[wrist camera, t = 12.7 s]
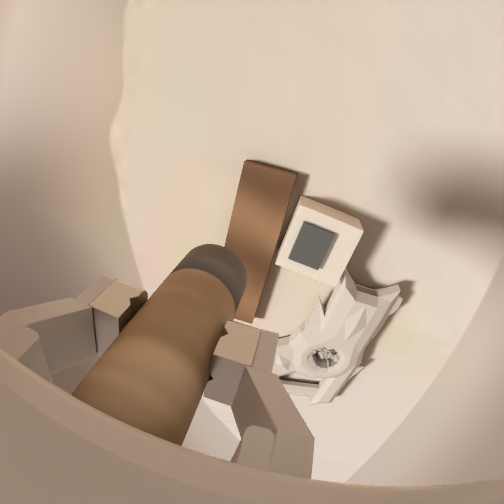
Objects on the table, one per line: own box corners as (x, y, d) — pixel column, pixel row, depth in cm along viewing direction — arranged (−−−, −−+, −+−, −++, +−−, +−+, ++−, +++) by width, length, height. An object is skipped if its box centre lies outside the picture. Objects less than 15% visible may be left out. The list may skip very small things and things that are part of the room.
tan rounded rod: (187, 235, 11) (12, 428, 3) (254, 256, 11) (146, 505, 3) (178, 292, 13) (51, 479, 5) (239, 312, 12) (151, 531, 4)
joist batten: (247, 159, 24) (244, 161, 23) (297, 173, 23) (296, 175, 23) (213, 304, 30) (210, 310, 29) (254, 317, 30) (252, 323, 29)
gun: (299, 266, 23) (415, 303, 22) (301, 245, 26) (405, 280, 25) (243, 401, 32) (327, 422, 31) (249, 378, 35) (328, 399, 34)
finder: (301, 194, 24) (299, 206, 21) (358, 218, 24) (364, 233, 21) (279, 248, 27) (274, 266, 23) (333, 269, 26) (335, 289, 23)
